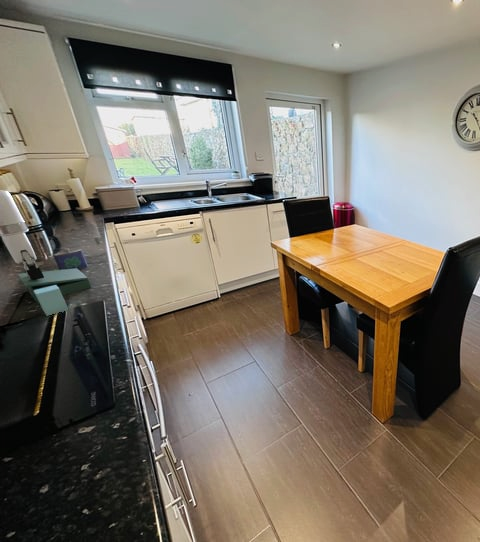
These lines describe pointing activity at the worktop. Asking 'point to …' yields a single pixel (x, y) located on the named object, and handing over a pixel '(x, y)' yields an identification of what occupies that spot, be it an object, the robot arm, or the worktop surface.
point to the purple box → (70, 259)
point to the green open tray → (63, 287)
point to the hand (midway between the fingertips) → (36, 276)
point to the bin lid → (53, 277)
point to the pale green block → (51, 300)
